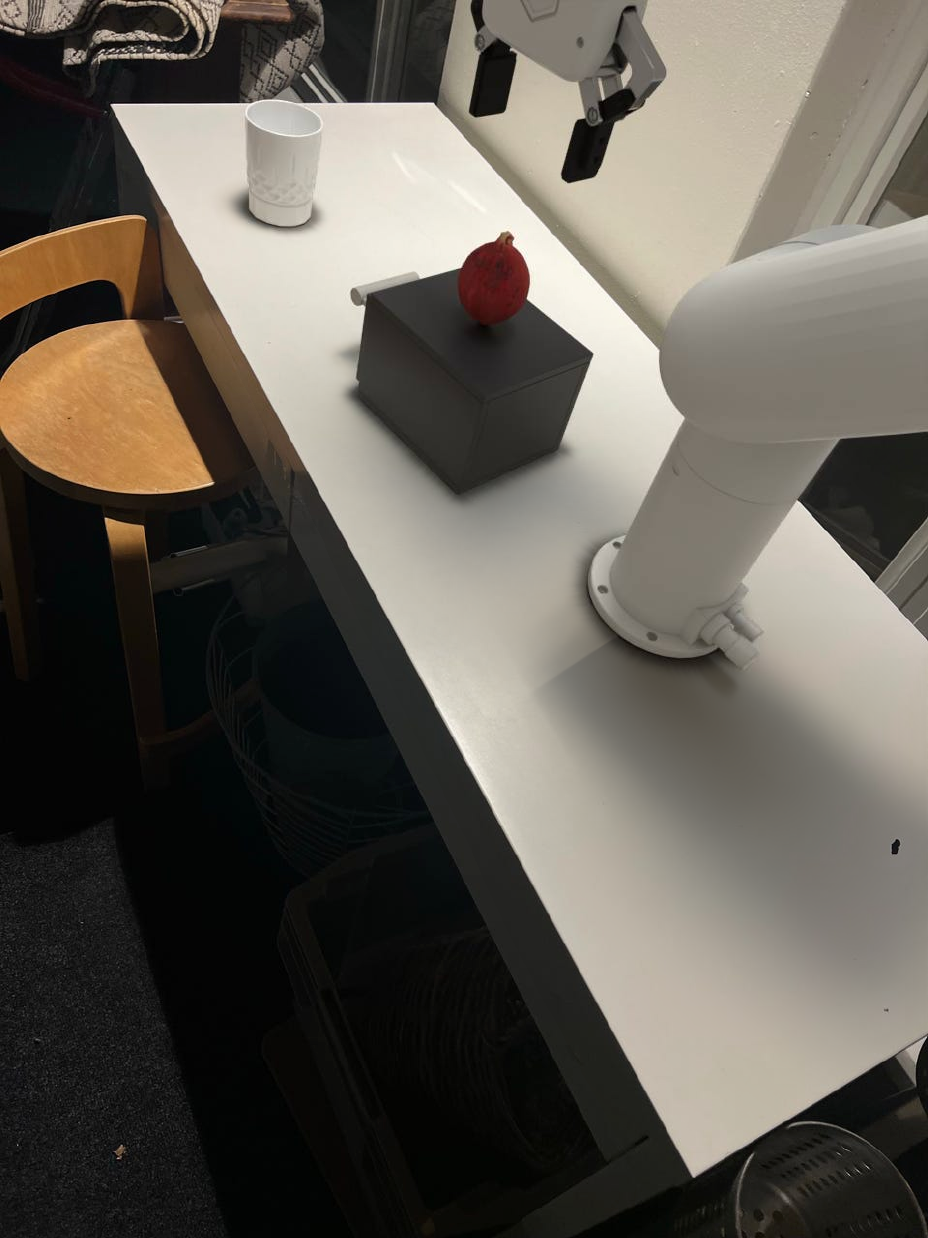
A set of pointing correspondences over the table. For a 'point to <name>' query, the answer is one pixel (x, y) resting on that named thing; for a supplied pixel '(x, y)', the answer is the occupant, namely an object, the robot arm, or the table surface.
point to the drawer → (363, 296)
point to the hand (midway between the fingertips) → (531, 145)
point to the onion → (494, 281)
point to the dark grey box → (468, 380)
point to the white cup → (282, 160)
